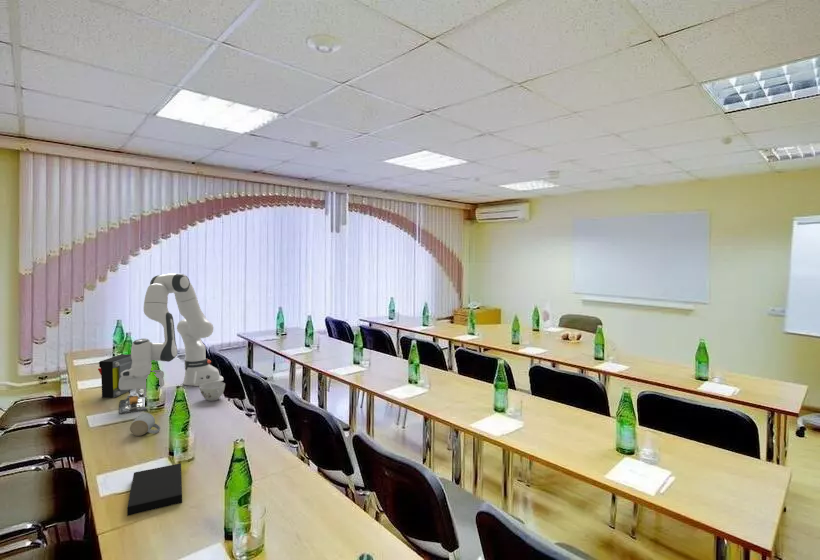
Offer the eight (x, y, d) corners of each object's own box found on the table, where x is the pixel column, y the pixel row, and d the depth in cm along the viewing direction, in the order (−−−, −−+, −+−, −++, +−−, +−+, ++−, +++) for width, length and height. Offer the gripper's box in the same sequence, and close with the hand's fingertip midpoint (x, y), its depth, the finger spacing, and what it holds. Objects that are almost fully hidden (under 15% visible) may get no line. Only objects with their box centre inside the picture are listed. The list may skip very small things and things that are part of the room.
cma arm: (128, 391, 232) (128, 385, 232) (138, 390, 234) (138, 384, 234) (128, 404, 211) (128, 398, 211) (138, 403, 213) (138, 397, 213)
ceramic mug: (128, 437, 179) (128, 419, 179) (136, 430, 187) (136, 413, 187) (156, 435, 182) (156, 418, 182) (162, 428, 190) (162, 411, 190)
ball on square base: (140, 395, 236) (140, 390, 235) (140, 398, 231) (140, 393, 230) (127, 396, 232) (127, 392, 232) (127, 400, 227) (127, 395, 227)
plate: (147, 397, 231) (147, 395, 231) (148, 409, 213) (148, 407, 212) (120, 401, 224) (120, 399, 224) (119, 414, 206) (119, 412, 206)
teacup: (196, 399, 229) (196, 384, 229) (220, 394, 238) (220, 380, 238) (206, 406, 219) (205, 390, 218) (230, 400, 227) (230, 385, 227)
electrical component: (117, 398, 231) (116, 361, 230) (98, 397, 231) (97, 361, 230) (138, 388, 248) (137, 354, 247) (121, 388, 248) (120, 354, 247)
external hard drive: (127, 517, 125) (127, 507, 125) (134, 481, 145) (133, 472, 145) (182, 503, 132) (182, 494, 132) (181, 471, 152) (181, 463, 152)
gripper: (165, 368, 225) (166, 393, 226) (122, 370, 220) (122, 396, 221) (161, 371, 219) (162, 397, 219) (116, 373, 214) (117, 400, 215)
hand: (142, 397), depth 220 cm, fingers closed
